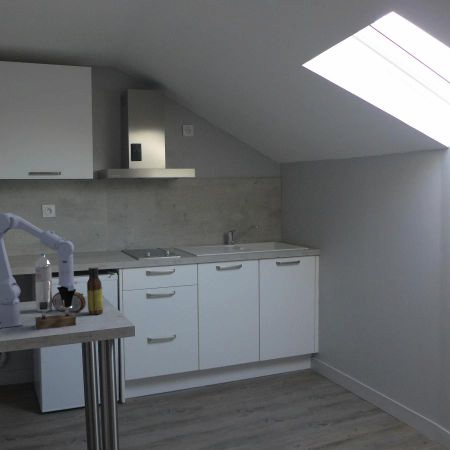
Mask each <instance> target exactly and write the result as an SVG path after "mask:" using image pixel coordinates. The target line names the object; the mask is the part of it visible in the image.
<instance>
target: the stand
mask: <svg viewBox="0 0 450 450" xmlns="http://www.w3.org/2000/svg"><path fill="white" fill-rule="evenodd" d="M34 318H35V320H34V321H35V326H36V328H37V329H38V330H46V329H55V328H62V327H64V326H65V327H70V326H76V325H77V321H76V318H77V317H76V316H75V315H74V314H73V313H72V312H69V316H65V313H63V314H62V313H61V314H53V315H45V319H42V316H38V317H37V316H36V317H34Z"/></svg>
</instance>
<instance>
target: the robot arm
mask: <svg viewBox="0 0 450 450" xmlns="http://www.w3.org/2000/svg"><path fill="white" fill-rule="evenodd" d="M10 230H22V231H23V232H26V233H28V234H30V235H32V236H34V238H35V237H36V238H37V239H39V242H40V244H42V245H43V246H45V247H47V248H48V249H50V250H52V251H56V253H57V255H58V286H57V287H56V288H57V290H58V292H59V293H60V296H61V300H62V304H63V300H64V304H65V307H70V306H71V304H72V299H73V296H74V293H75V292H77V291H76V288H75V285H77V283H78V282H77V281H75V277H74V276H75V275H74V274H75V273H74V266H75V265H74V254H73V252H74V250H75V244H74V243H73V242H72V241H71V240H70V239H66V238H65V237H61V236H59V235H57V234H55V231H54V230H45V231H44V230H43V229H41V228H39V227H37V226H36V225H34V224H32V223H31V222H30V221H28V220H26V219H24V218H22V217H21V216H19V215H17V214H15V213H13V212H10V211H8V212H4V213H0V329H5V328H12V327H20V326H23V323H22V321H21V307H20V299H19V296H20V295H21V292H22V291H21V288H20V286H19V285H18V284H17V281H16V279H15V277H14V276H13V272H12V269H11V264H10V261H9V258H8V253H7V250H6V244H5V241H4V237H5V235H6V234H7V233H8V231H10Z"/></svg>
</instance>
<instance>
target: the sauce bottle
mask: <svg viewBox="0 0 450 450" xmlns="http://www.w3.org/2000/svg"><path fill="white" fill-rule="evenodd" d="M88 272H89V273H88V280H87V282H86V293H87V295H86V296H87V310H88V313H89V315H101V314H103V313H104V302H103V301H104V300H103V286H102V281H101V280H100V277H99V267H98V266H90V267H88Z"/></svg>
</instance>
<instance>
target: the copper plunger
mask: <svg viewBox="0 0 450 450" xmlns="http://www.w3.org/2000/svg"><path fill="white" fill-rule="evenodd" d="M60 308H61V309H65V311H64V314H65V316H69V314H70V312H69V311H68V309H72V308H73V305H71V306H70V307H65V304H64V300H63V305H62V306H60Z"/></svg>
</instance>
